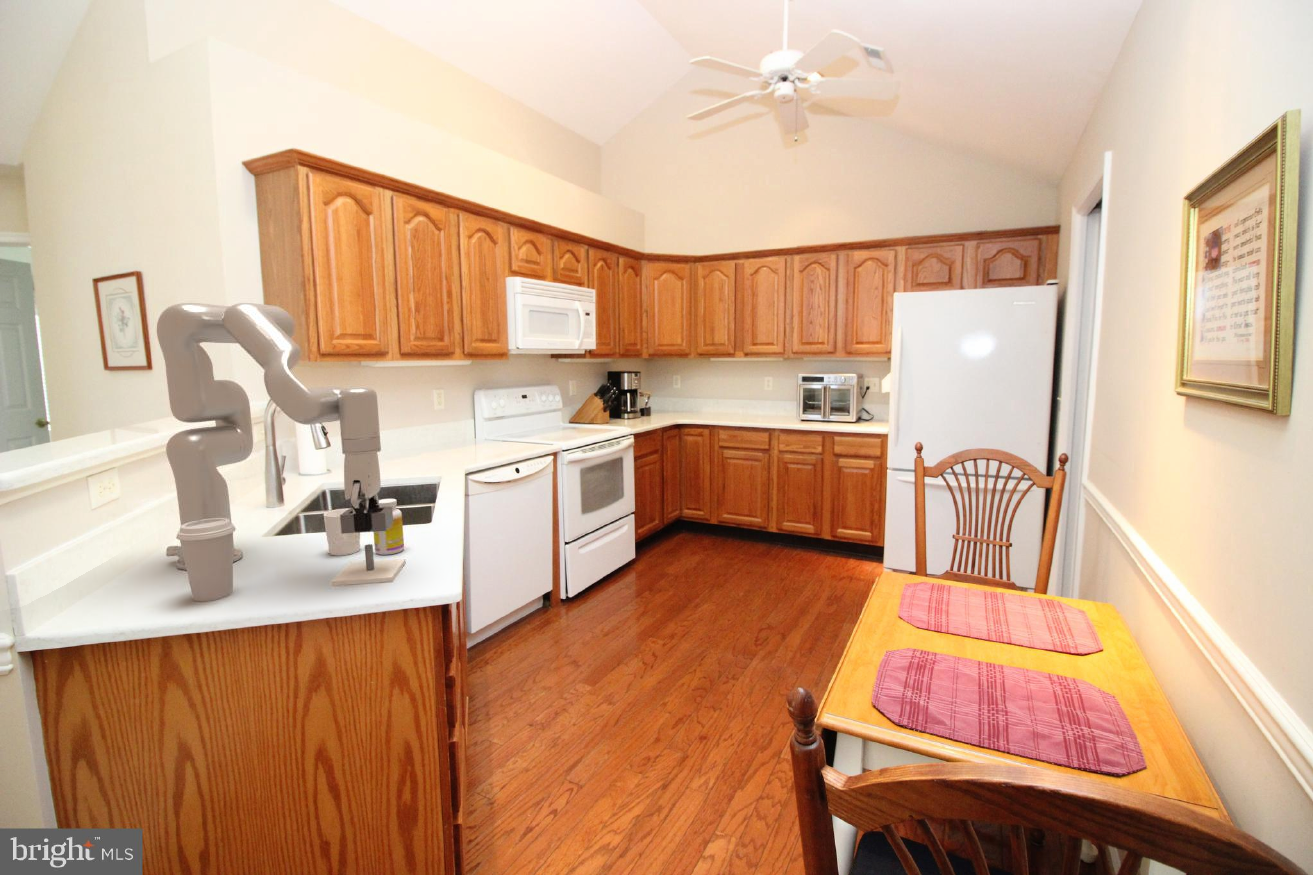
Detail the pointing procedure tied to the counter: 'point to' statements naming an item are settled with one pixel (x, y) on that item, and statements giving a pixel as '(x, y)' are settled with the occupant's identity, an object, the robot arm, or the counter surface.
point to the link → (379, 520)
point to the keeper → (369, 570)
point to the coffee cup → (208, 557)
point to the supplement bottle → (390, 532)
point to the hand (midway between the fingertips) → (367, 526)
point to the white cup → (339, 535)
